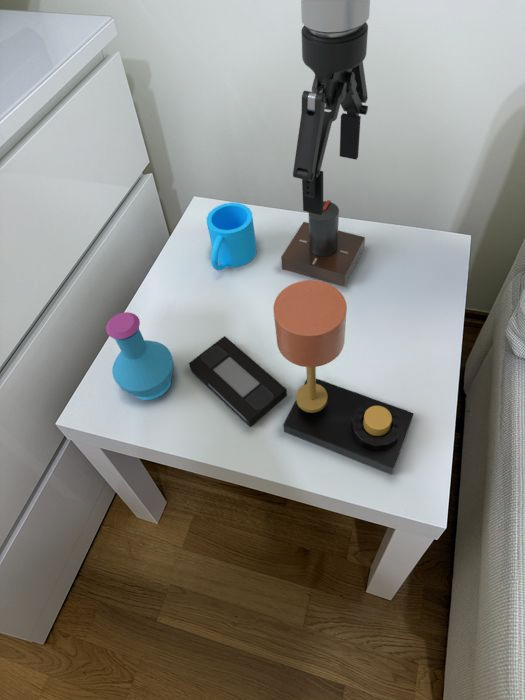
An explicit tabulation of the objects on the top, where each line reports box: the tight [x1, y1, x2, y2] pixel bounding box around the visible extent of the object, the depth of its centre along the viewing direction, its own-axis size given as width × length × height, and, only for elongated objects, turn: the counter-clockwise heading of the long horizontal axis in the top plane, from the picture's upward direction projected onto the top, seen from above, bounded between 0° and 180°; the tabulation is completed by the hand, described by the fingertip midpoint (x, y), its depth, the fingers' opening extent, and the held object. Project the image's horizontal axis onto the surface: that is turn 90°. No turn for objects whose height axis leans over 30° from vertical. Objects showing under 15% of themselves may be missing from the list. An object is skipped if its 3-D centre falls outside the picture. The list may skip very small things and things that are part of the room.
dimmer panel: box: [280, 221, 366, 288], centre depth 93 cm, size 12×10×3 cm
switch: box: [363, 406, 392, 436], centre depth 69 cm, size 4×4×2 cm
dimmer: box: [308, 199, 340, 257], centre depth 88 cm, size 5×5×8 cm
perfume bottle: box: [105, 311, 174, 401], centre depth 76 cm, size 9×9×15 cm
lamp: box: [273, 279, 348, 413], centre depth 65 cm, size 8×8×20 cm
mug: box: [206, 202, 258, 272], centre depth 93 cm, size 12×8×8 cm
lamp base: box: [282, 378, 415, 476], centre depth 73 cm, size 16×9×4 cm, turn 64°
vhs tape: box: [188, 335, 288, 428], centre depth 79 cm, size 8×14×2 cm, turn 43°
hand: (331, 183), depth 75 cm, fingers open, 13 cm apart
